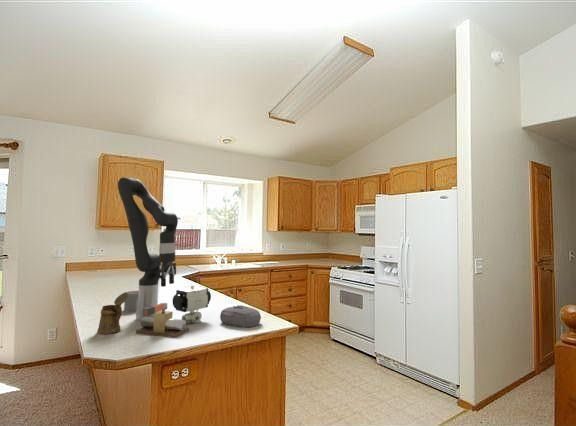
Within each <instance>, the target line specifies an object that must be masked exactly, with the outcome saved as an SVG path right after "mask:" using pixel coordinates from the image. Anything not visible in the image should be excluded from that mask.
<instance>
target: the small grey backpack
mask: <svg viewBox="0 0 576 426" xmlns="http://www.w3.org/2000/svg"><path fill="white" fill-rule="evenodd" d="M219 315H220V316H219V318H220V321H221V323H223V324H226V325H228V326H232V327H237V328H238V327H239V328H247V327H251V328H252V327H257V326H258V325H260V323H261V319H262V317H261V312H260V311H259V310H258V309H256V308H253V307H249V306H244V305H239V304H237V305H234V306H228V307H226V308H224V309H222V310H221V311H220V313H219Z"/></svg>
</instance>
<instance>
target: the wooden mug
mask: <svg viewBox="0 0 576 426" xmlns="http://www.w3.org/2000/svg"><path fill="white" fill-rule="evenodd" d="M126 292H127V291H125V292H123V293H121V294H119V295H118V296H117V297H116V298H115V299H114V302H113V303H114V304H106V305H103V306H102V307H101V310H100V318H99V323H98V328H97V331H96V334H97V335H104V336H105V335H113V334H115V333H116V334H117V333H118V332H120V331H121V325H120V320H121V318H122V314H123V309H122V306H121V305H122V304H124V302H125V300H126V299H127V297H128V294H127V293H126Z"/></svg>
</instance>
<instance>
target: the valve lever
mask: <svg viewBox="0 0 576 426" xmlns="http://www.w3.org/2000/svg"><path fill="white" fill-rule="evenodd" d="M167 309H168V302H161V303H159V304H158V305H155V306H152V307H147V308H144V309H143V316H150V315H152V314H155V313H156V312H160V311H162V310H165V311H167Z"/></svg>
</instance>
